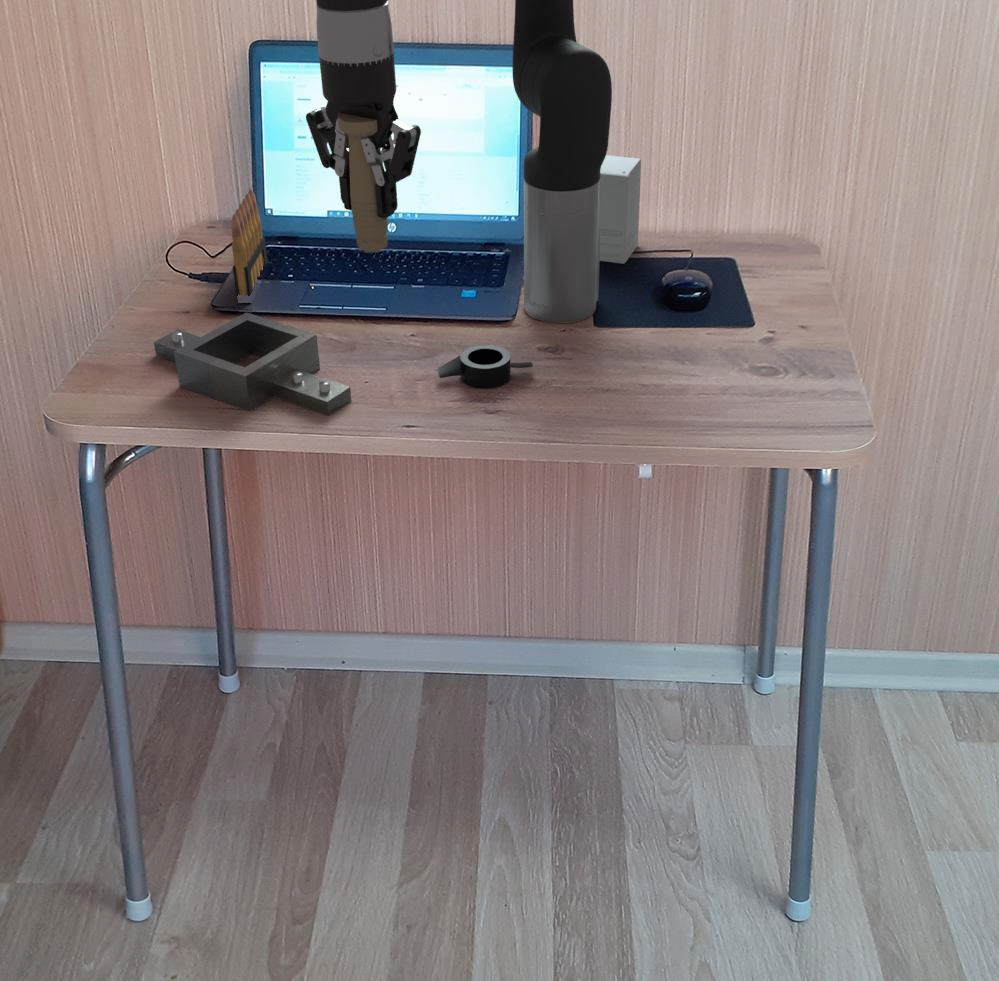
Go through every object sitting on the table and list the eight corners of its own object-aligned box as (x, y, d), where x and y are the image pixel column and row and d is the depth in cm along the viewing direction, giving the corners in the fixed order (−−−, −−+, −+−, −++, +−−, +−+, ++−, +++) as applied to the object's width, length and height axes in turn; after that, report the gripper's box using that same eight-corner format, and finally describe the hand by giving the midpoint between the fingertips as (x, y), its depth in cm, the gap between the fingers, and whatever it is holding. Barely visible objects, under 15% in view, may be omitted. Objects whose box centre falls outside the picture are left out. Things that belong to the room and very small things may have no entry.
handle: (395, 235, 146) (386, 102, 137) (393, 259, 140) (383, 121, 132) (352, 237, 146) (340, 103, 137) (349, 261, 140) (336, 123, 132)
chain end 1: (131, 368, 155) (124, 334, 152) (203, 330, 163) (198, 297, 160) (214, 398, 148) (209, 363, 146) (284, 357, 157) (280, 323, 154)
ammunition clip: (251, 304, 169) (239, 216, 162) (237, 304, 169) (225, 216, 162) (269, 270, 178) (258, 186, 171) (255, 270, 178) (245, 185, 171)
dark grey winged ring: (511, 402, 147) (511, 379, 146) (432, 385, 151) (431, 363, 149) (538, 372, 153) (538, 350, 152) (461, 356, 157) (460, 335, 155)
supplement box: (639, 245, 184) (643, 157, 177) (624, 265, 178) (628, 176, 171) (589, 238, 186) (591, 151, 179) (573, 258, 180) (574, 169, 173)
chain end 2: (214, 398, 148) (209, 363, 146) (284, 357, 157) (280, 323, 154) (304, 431, 142) (300, 395, 139) (373, 386, 150) (370, 351, 148)
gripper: (435, 50, 130) (443, 212, 140) (325, 32, 137) (340, 188, 147) (389, 69, 125) (401, 236, 135) (277, 49, 132) (296, 210, 141)
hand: (369, 210), depth 141 cm, fingers closed on handle, 4 cm apart
